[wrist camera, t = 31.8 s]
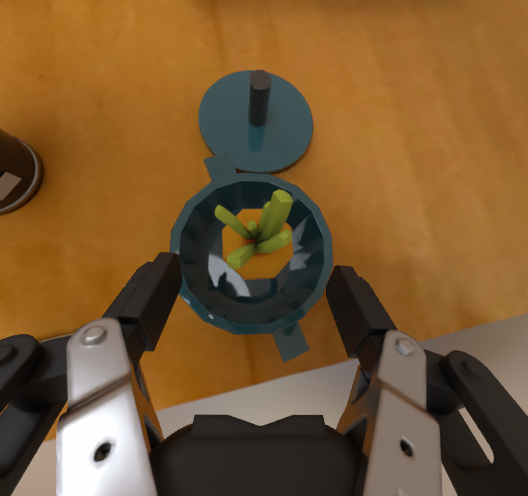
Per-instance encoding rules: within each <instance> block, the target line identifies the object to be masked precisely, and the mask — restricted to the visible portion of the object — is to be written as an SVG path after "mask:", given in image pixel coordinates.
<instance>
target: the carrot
mask: <svg viewBox="0 0 528 496" xmlns="http://www.w3.org/2000/svg"><path fill="white" fill-rule="evenodd" d="M292 203H293V200H292V198H291V196H290V194H288V193H287V192H286V191H283V190H277V191H274V192H273V194H272V198H271V202H269V201H268V202H267V203H266V204H265V205H264V207H263V209H242V210H241V211H240V212H239V213H238V214H237V215H236V216H234V215H233V214H232V213H231V212H229V211H228V210H227V209H225V208H224V207H222V206H221V205H218V206H217V207H216V209H215V216H216V218H218V219H219V220H220V221H222V222H223V223H224V224H226V227H225V228H224V229H223V230H222V245H223V260H224V261H225V262H226V263H227V265H228V268H232V269H233V270H234V271H236V272H237V273H238V274H239V275H240V276H241V277H242V278H243V279H244V280H252V279H270V278H275V277H276V276H277V274H278V273H279V272H280V271H281V270H282V269H283V268H284V266H285V265H286V264H287V263H288V262H289V261H290V260H291V258H292V257H293V256H294V255H293V242H292V229H291V226H289V225H288V224H287V223H286V219H287V217H288V215H289V212H290V209H291V206H292Z"/></svg>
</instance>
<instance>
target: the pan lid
mask: <svg viewBox="0 0 528 496" xmlns="http://www.w3.org/2000/svg"><path fill="white" fill-rule="evenodd" d="M198 118H199V127H200V131H201V134H202V137H203V139H204V142H205V144H206V145H207V147H208V148H209V150H210V151H211V152H212V153H213V154H214V156H216V155H219V154H222V153H226V152H228V153H229V155H230V158H231V160H232V162H233V165H234V167H235V169H236V170H238V171H241V172H245V173H255V174H270V173H274V172H278V171H281V170H283V169H286V168H287V167H289V166H291V165H292V164H294V163H295V162H296V161H297V160H298V159H299V158H300V157H301V156H302V155H303V153H304V152H305V151H306V149H307V147H308V145H309V143H310V140H311V137H312V131H313V121H312V115H311V111H310V108H309V106H308V104H307V102H306V100H305V98H304V97H303V96H302V94H301V93H300V92H299V91H298V90H297V89H296V88H295V87H294V86H293V85H292V84H290V83H289V82H287V81H286V80H284V79H283V78H281V77H279V76H276V75H274V74H271V73H267V72H266V71H263V70H255V71H253V70H248V71H240V72H235V73H232V74H229V75H227V76H225V77H223V78H221V79H219V80H218V81H217V82H215V83H214V84H213V85H212V86H211V87H210V88H209V89H208V90H207V92H206V93H205V95H204V97H203V99H202V101H201V104H200V108H199V114H198Z"/></svg>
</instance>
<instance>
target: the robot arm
mask: <svg viewBox="0 0 528 496" xmlns="http://www.w3.org/2000/svg"><path fill="white" fill-rule="evenodd" d="M41 178H42V164H41V161H40V158H39V156H38V155H37V153H36V152H35V151H34V150H33V149H32V148H31V147H30V146H29V145H27V144H26V143H24V142H23V141H21V140H19V139H18V138H16V137H13V136H11V135H10V134H8V133H6V132H5V131H3V130H2V129H0V214H3V213H7V212H10V211H12V210H14V209H16V208H18V207H20V206H21V205H23V204H24V203H25V202H26V201H28V200H29V199H30V198H31V197H32V195H33V194H34V193H35V192H36V190H37V188H38V186H39V184H40V181H41ZM181 285H182V272H181V266H180V260H179V256H178V254H177V253H166V252H160V253H159V254H158V255H157V257H156V258H155V260H154V261H153V262H147V263H145V264H144V265H142V266H141V267H140V268H138V269H137V270H136V272H135V273H134V274H133V276H132V277H131V279H130V280H129V281H128V283H127V284H126V287H124V288H123V289H122V291H121V292H120V293H119V295H118V296H117V297H116V299H115V300H114V301H113V303H112V304H111V305H110V307H109V308H108V310H107V311H106V312H105V314H104V315H103V316H102V317H101V318H100V319H96V320H93V321H91V322H89V323H87V324H85V325H83V326H82V327H80V328H79V329H78V330H77V331H76V332H75V333H74V334H73V335H69V336H65V337H60V338H56V339H51V340H47V341H43V342H38V341H37V340H36V339H35V338H34V337H33V336H31V335H27V334H20V335H14V336H10V337H7V338H4V339H2V340H0V413H1V412H2V411H3V410H4V408H5V407H6V406H7V405H8V404H9V405H8V406H7V407H6V409H5V410H4V411H3V412H2V414H1V415H0V496H11V494H12V493H13V491H14V489H15V487H16V486H17V484H18V482H19V481H20V479H21V477H22V476H23V474H24V472H25V471H26V469H27V467H28V465H29V464H30V462H31V461H32V459H33V457H34V455H35V454H36V452H37V450H38V449H39V447H40V445H41V444H42V442H43V440H44V439H45V437H46V435H47V434H48V432H49V430H50V429H51V427H52V425H53V423H54V422H55V420H56V418H57V417H58V415H59V413H60V412H61V410H62V408H63V407H64V405H65V403H66V402H67V400H68V409H67V412H66V413H64V414H62V415H61V417H60V418H59V421H58V425H57V469H56V470H57V471H56V472H57V473H56V476H57V477H56V482H57V483H56V496H442V476H441V475H442V474H441V462H442V464H443V466H444V468H445V470H446V472H447V474H448V476H449V478H450V480H451V482H452V484H453V487H454V488H455V491H456V493H457V495H458V496H528V416H527V415H526V414H525V412H524V411H523V410H522V409H521V408H520V407H519V405H518V404H517V403H516V402H515V400H514V399H513V398H512V397H511V396H510V394H509V393H508V392H507V391H506V390H505V388H504V387H503V386H502V385H501V384H500V383H499V381H498V380H497V379H496V378H495V376H494V375H493V374H492V373H491V371H490V370H489V369H488V368H487V367H486V366H484V364H482V363H481V362H480V361H479V360H477V359H476V358H474V357H473V356H471V355H469V354H467V353H465V352H462V351H457V350H454V351H451V352H450V353H449V354H447V355H446V356H443V355H440V354H437V353H433V352H431V351H428V350H425V349H422V347H421V346H420V344H419V343H418V342H417V341H416V340H415V339H413V338H412V337H411V336H409V335H408V334H406V333H404V332H401V331H398V329H397V328H396V326H395V325H394V323H393V322H392V320H391V318H390V317H389V315H388V314H387V312H386V310H385V309H384V307H383V306H382V304H381V302H379V299H378V298H377V296H376V295H375V294H374V291H373V290H372V288H371V286H370V285H369V284H368V283H367V282H366V281H365V280H364V279H363V278H362V277H358V276H357V274H356V272H355V270H354V269H353V267H351V266H340V265H336V266H335V267H334V269H333V271H332V274H331V276H330V278H329V281H328V283H327V286H326V297H327V300H328V303H329V305H330V308H331V311H332V314H333V317H334V319H335V322H336V325H337V328H338V330H339V333H340V336H341V339H342V342H343V344H344V347H345V350H346V353H347V355H348V358H358V359H359V362H360V365H359V366H358V369H357V372H356V376H355V379H354V383H353V386H352V390H351V393H350V396H349V400H348V403H347V406H346V408H345V411H344V412H343V414H342V416H341V418H340V420H339V423H338V425H337V428H336V430H335V429H334V428H332V427H330V426H328V425H325V422H324V418H323V415H292V416H289V417H286V418H283V419H280V420H277V421H275V422H272V423H269V424H266V425H263V426H258V425H255V424H252V423H249V422H247V421H244V420H241V419H238V418H235V417H232V416H230V415H195V416H194V421H193V423H192V424H190V425H187V426H185V427H183V428H181V429H179V430H177V431H176V432H174V433H172V434H171V435H170V436H168V437H167V438H166V439H165V440H164V437H163V434H162V430H161V427H160V424H159V421H158V418H157V416H156V413H155V411H154V408H153V405H152V402H151V399H150V395H149V392H148V388H147V385H146V381H145V378H144V374H143V371H142V367H141V364H140V359H141V356H142V354H143V352H144V351H154V350H155V347H156V345H157V343H158V340H159V338H160V335H161V333H162V331H163V328H164V326H165V324H166V321H167V319H168V317H169V314H170V312H171V310H172V307H173V305H174V303H175V300H176V298H177V295H178V293H179V291H180V288H181ZM464 407H465V408H466V410H467V411H468V413H469V414H470V416H471V417H472V419H473V420H474V422H475V423H476V425H477V427H478V428H479V430H480V431H481V433H482V434H483V436H484V437H485V439H486V441H487V442H488V444H489V445H490V447H491V449H492V451H493V455H494V462H493V463H491V462H490V461H489V459H488V458H487V456H486V455H485V453H484V451H483V450H482V448H481V447H480V445H479V443H478V442H477V440H476V438H475V437H474V435H473V434H472V432H471V430H470V429H469V427H468V425H467V424H466V422H465V421H464V419H463V417H462V416H461V414H460V412H459V411H458V410H459V409H462V408H464Z"/></svg>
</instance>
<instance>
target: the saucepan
mask: <svg viewBox="0 0 528 496" xmlns="http://www.w3.org/2000/svg"><path fill="white" fill-rule="evenodd" d="M204 163H205V165H206V168H207V171H208V173H209V176H210V178H211V181H212V182H210V183H209V184H208V185H206V186H205V187H204V188H203V189H202V190H200V191H199V192H198V193H197V194H196V195H194V196H193V197H192V198H191V199H190V200H188V201H187V202H186V204H185V206H184V208H183V209H182V211H181V213H180V215H179V217H178V219H177V221H176V223H175V225H174V226H173V228H172V230H171V240H170V253H177V254H178V256H179V260H180V266H181V272H182V285H181V288H180V291H179V295H180V297H181V298H182V299H183V300H184V301H185V302H186V303H187V304H188V305H189V306H190V307H191V308H192V309H193V311H194V312H195V313H196V314H197V315H198V316H199V317H200V318H201V319H202V320H203V321H204V322H206V323H209V324H211V325H214V326H216V327H218V328H221V329H223V330H226V331H228V332H230V333H233V334H235V335H236V334H237V335H244V334H270V333H272V335H273V338H274V341H275V343H276V346H277V348H278V351H279V353H280V356H281V358H282V360H283V362H287V361H289V360H291V359H293V358H295V357H297V356H299V355H301V354H303V353H305V352H307V351H309V347H308V344H307V342H306V340H305V337H304V335H303V332H302V330H301V327H300V325H299V323H298V321H299V320H301V319H302V318H303V317H304V316H305V315H306V314H307V312H308V311H309V310H310V309H311V308H312V307H313V306H314V305H315V304H316V302H317V301H318V300H319V299H320V298H321V297H322V295H323V293H324V290H325V287H326V284H327V281H328V278H329V276H330V273H331V270H332V267H333V254H332V236H331V233H330V230H329V228H328V226H327V224H326V222H325V220H324V217H323V215H322V213H321V211H320V209H319V207H318V206H317V205H316V204H315V203H314V202H313V201H312V200H311V199H310V198H309V197H308V196H307V195H306V194H305V193H304V192H303V191H302V190H301V189H300V188H299V187H297V186H295V185H293V184H291V183H289V182H286V181H284V180H282V179H279V178H277V177H275V176H273V175H270V174H255V173H237V172H236V170H235V167H234V165H233V162H232V160H231V158H230V155H229V153H228V152H226V153H222V154H219V155H216V156H213V157H209V158H206V159H204ZM277 190H283V191H286V192H287V193H288V194H290V196H291V198H292V200H293V203H292V206H291V209H290V212H289V215H288V217H287V219H286V223H287V224H288V225H289V226H291V229H292V242H293V255H294V256H293V257H292V258H291V260H290V261H289V262H288V263H287V264H286V265H285V266H284V268H283V269H282V270H281V271H280V272H279V273H278V274H277V276H276V277H275V278H270V279H252V280H244V279H243V278H242V277H241V276H240V275H239V274H238V273H237V272H236V271H234V270H233V269H232V268H228V265H227V263H226V262H225V261H224V260H223V245H222V230H223V229H224V228H225V227H226V224H224V223H223V222H222V221H220V220H219V219H218V218H216V216H215V209H216V207H217V206H218V205H221V206H222V207H224V208H225V209H227V210H228V211H229V212H231V213H232V214H233V215H234V216H236V215H237V214H238V213H239V212H240V211H241V210H242V209H263V207H264V205H265V204H266V203H267V202H268V201H269V202H271V198H272V194H273V192H274V191H277Z"/></svg>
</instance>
